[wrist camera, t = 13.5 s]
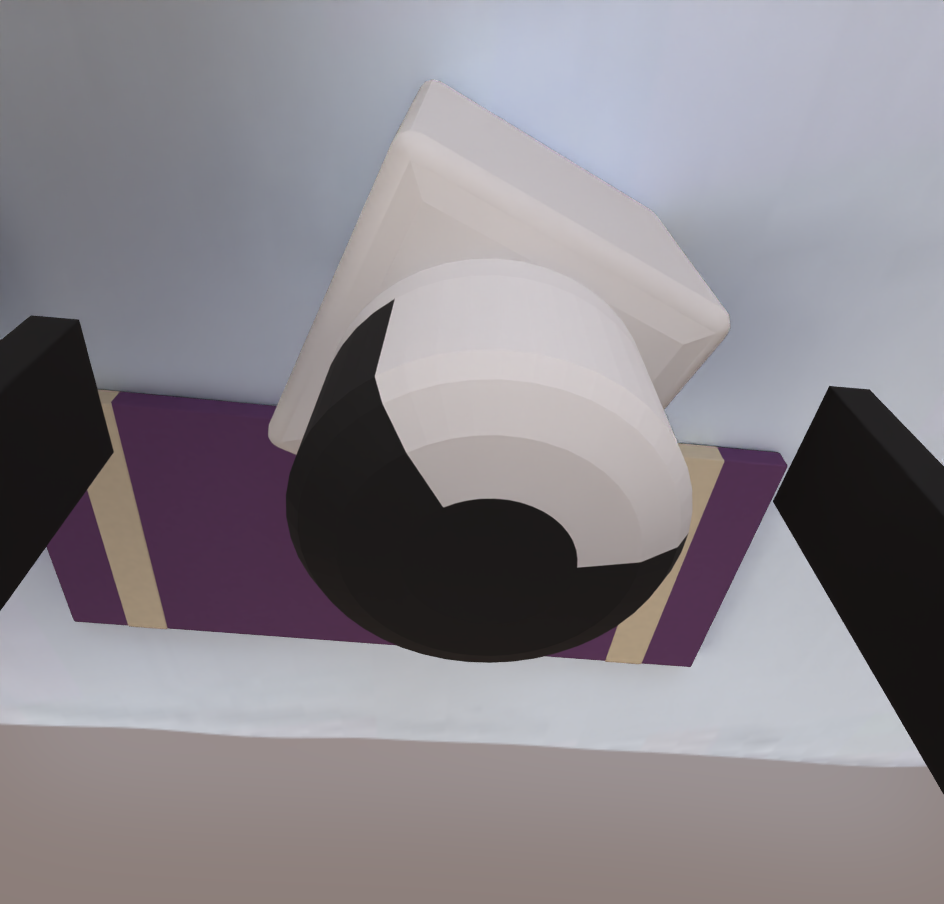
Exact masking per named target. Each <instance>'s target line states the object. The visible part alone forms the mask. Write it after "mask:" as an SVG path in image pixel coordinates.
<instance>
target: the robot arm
mask: <svg viewBox="0 0 944 904" xmlns="http://www.w3.org/2000/svg"><path fill="white" fill-rule="evenodd" d="M113 453H114V450H113V446H112V443H111V439H110V435H109V431H108V428H107V424H106V420H105V416H104V412H103V409H102V405H101V401H100V397H99V393H98V390H97V386H96V382H95V378H94V375H93V371H92V367H91V363H90V359H89V356H88V352H87V348H86V344H85V341H84V337H83V333H82V329H81V325H80V322H79V320H77V319H66V318H54V317H43V316H32V315H31V316H30V317H29V318H27V319H26V320H25V321H24V322H22V323H21V324H20V325H19V326H18V327H16V328H15V329H14V330H13V331H11V332H10V333H9V334H8V335H6V336H5V337H4V338H3V339H1V340H0V611H1V609H2V608H3V606H4V605H5V604H6V602H7V601H8V599H9V598H10V597H11V595H12V594H13V592H14V591H15V590H16V588H17V587H18V585H19V584H20V583H21V581H22V580H23V579H24V577H25V576H26V574H27V573H28V572H29V570H30V569H31V567H32V566H33V565H34V563H35V562H36V560H37V559H38V558H39V556H40V555H41V553H42V552H43V551H44V549H45V548H46V546H47V545H48V544H49V542H50V541H51V539H52V538H53V537H54V535H55V534H56V532H57V531H58V530H59V528H60V527H61V525H62V524H63V523H64V521H65V520H66V518H67V517H68V516H69V514H70V513H71V512H72V510H73V509H74V507H75V506H76V505H77V503H78V502H79V500H80V499H81V498H82V496H83V495H84V493H85V492H86V491H87V489H88V488H89V486H90V485H91V484H92V482H93V481H94V479H95V478H96V477H97V475H98V474H99V472H100V471H101V470H102V468H103V467H104V465H105V464H106V463H107V461H108V460H109V458H110V457H111V456H112V454H113ZM773 502H774V504H775V506H776V508H777V509H778V511H779V513H780V514H781V516H782V518H783V520H784V521H785V523H786V525H787V526H788V528H789V530H790V532H791V533H792V535H793V537H794V538H795V540H796V542H797V544H798V545H799V547H800V549H801V550H802V552H803V554H804V556H805V557H806V559H807V561H808V562H809V564H810V566H811V568H812V569H813V571H814V573H815V574H816V576H817V578H818V580H819V581H820V583H821V585H822V586H823V588H824V590H825V592H826V593H827V595H828V597H829V598H830V600H831V602H832V604H833V605H834V607H835V609H836V610H837V612H838V614H839V616H840V617H841V619H842V621H843V622H844V624H845V626H846V628H847V629H848V631H849V633H850V634H851V636H852V638H853V640H854V641H855V643H856V645H857V647H858V648H859V650H860V652H861V653H862V655H863V657H864V659H865V660H866V662H867V664H868V665H869V667H870V669H871V671H872V672H873V674H874V676H875V677H876V679H877V681H878V683H879V684H880V686H881V688H882V689H883V691H884V693H885V695H886V696H887V698H888V700H889V701H890V703H891V705H892V707H893V708H894V710H895V712H896V713H897V715H898V717H899V719H900V720H901V722H902V724H903V725H904V727H905V729H906V731H907V732H908V734H909V736H910V737H911V739H912V741H913V743H914V744H915V746H916V748H917V749H918V751H919V753H920V755H921V756H922V758H923V760H924V761H925V763H926V765H927V767H928V768H929V770H930V772H931V773H932V775H933V777H934V779H935V780H936V782H937V784H938V785H939V787H940V789H941V791H942V792H943V794H944V466H943V465H942V464H941V463H940V462H939V461H938V460H937V459H936V458H935V457H934V456H933V455H932V454H931V453H930V452H929V451H928V450H927V449H926V448H925V446H924V445H923V444H922V443H921V442H920V441H919V440H918V439H917V438H916V437H915V436H914V435H913V434H912V433H911V432H910V431H909V430H908V429H907V428H906V427H905V426H904V425H903V424H902V423H901V422H900V421H899V420H898V419H897V417H896V416H895V415H894V414H893V413H892V412H891V411H890V410H889V409H888V408H887V407H886V406H885V405H884V404H883V403H882V402H881V401H880V400H879V399H878V398H877V397H876V396H875V395H874V394H873V393H872V392H871V391H870V390H868V389H857V388H846V387H834V386H829V388H828V390H827V392H826V394H825V396H824V398H823V400H822V402H821V404H820V406H819V408H818V410H817V412H816V415H815V417H814V419H813V421H812V423H811V425H810V427H809V429H808V431H807V433H806V435H805V437H804V439H803V441H802V443H801V445H800V447H799V449H798V451H797V453H796V455H795V457H794V459H793V461H792V464H791V466H790V468H789V470H788V472H787V474H786V476H785V478H784V480H783V482H782V484H781V486H780V488H779V490H778V492H777V494H776V496H775V498H774V500H773Z"/></svg>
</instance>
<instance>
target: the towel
mask: <svg viewBox="0 0 944 904" xmlns="http://www.w3.org/2000/svg"><path fill="white" fill-rule="evenodd" d="M97 390H98V393H99V397H100V401H101V405H102V409H103V412H104V416H105V420H106V424H107V428H108V431H109V435H110V439H111V443H112V446H113V450H114V453H113V454H112V456H111V457H110V458H109V460H108V461H107V463H106V464H105V465H104V467H103V468H102V470H101V471H100V472H99V474H98V475H97V477H96V478H95V479H94V481H93V482H92V484H91V485H90V486H89V488H88V489H87V491H86V492H85V493H84V495H83V496H82V498H81V499H80V500H79V502H78V503H77V505H76V506H75V507H74V509H73V510H72V512H71V513H70V514H69V516H68V517H67V518H66V520H65V521H64V523H63V524H62V525H61V527H60V528H59V530H58V531H57V532H56V534H55V535H54V537H53V538H52V539H51V541H50V542H49V544H48V545H47V546H46V547H47V550H48V552H49V555H50V558H51V560H52V563H53V566H54V568H55V571H56V574H57V576H58V579H59V582H60V584H61V587H62V590H63V592H64V595H65V598H66V601H67V603H68V606H69V609H70V611H71V614H72V617H73V619H74V621H76V622H89V623H103V624H116V625H128V626H131V627H144V628H158V629H167V628H170V629H184V630H197V631H211V632H225V633H238V634H252V635H265V636H279V637H292V638H306V639H319V640H333V641H346V642H360V643H373V644H387V645H395V644H393V643H390V642H388V641H386V640H383V639H381V638H380V637H378V636H376V635H374V634H372V633H371V632H369V631H367V630H365V629H364V628H362V627H361V626H359V625H358V624H357V623H355V622H354V621H352V620H351V619H350V618H348V617H347V616H346V615H345V614H344V613H343V612H341V611H340V610H339V609H338V608H337V607H336V606H335V605H334V604H333V603H332V602H331V601H330V600H329V599H328V598H327V596H326V595H325V594H324V593H323V592H322V590H321V589H320V588H319V587H318V586H317V584H316V583H315V582H314V581H313V579H312V578H311V577H310V576H309V574H308V573H307V571H306V569H305V568H304V566H303V564H302V563H301V561H300V559H299V558H298V555H297V553H296V550H295V548H294V545H293V543H292V540H291V537H290V533H289V528H288V523H287V518H286V491H287V485H288V480H289V474H290V471H291V468H292V465H293V463H294V460H295V457H296V454H293V453H291V452H288V451H286V450H284V449H281V448H279V447H277V446H276V445H274V444H273V443H272V442H271V441H270V439H269V437H268V429H269V423H270V421H271V419H272V416H273V414H274V412H275V409H276V407H277V406H271V405H260V404H249V403H239V402H228V401H217V400H206V399H196V398H185V397H174V396H163V395H153V394H142V393H131V392H121V391H111V390H100V389H97ZM678 445H679V447H680V450H681V452H682V455H683V457H684V460H685V462H686V464H687V467H688V471H689V476H690V481H691V486H692V517H691V523H690V528H689V533H688V536H687V539H686V541H685V544H684V547H683V550H682V552H681V554H680V556H679V558H678V559H677V561H676V563H675V565H674V566H673V568H672V570H671V572H670V573H669V574H668V575H667V577H666V578H665V579H664V581H663V582H662V583H661V584H660V586H659V587H658V588H657V589H656V591H655V592H654V593H653V594H652V596H651V597H650V598H649V599H648V600H647V601H646V602H645V603H644V604H643V605H642V606H641V607H640V608H639V609H638V610H637V611H636V612H635V613H634V614H632V615H631V616H630V617H628V618H627V619H626V620H624V621H623V622H622V623H620V624H619V625H618V626H616V627H615V628H613V629H611V630H609V631H608V632H606V633H604V634H603V635H601V636H599V637H597V638H595V639H593V640H591V641H588V642H586V643H584V644H582V645H579V646H577V647H574V648H571V649H568V650H565V651H562V652H559V653H556V654H551V655H547V656H549V657H563V658H576V659H590V660H603V661H606V662H618V663H631V664H641V663H644V664H657V665H671V666H684V667H691V665H692V663H693V661H694V659H695V657H696V655H697V653H698V651H699V649H700V647H701V645H702V643H703V641H704V639H705V636H706V634H707V632H708V630H709V628H710V626H711V624H712V622H713V620H714V618H715V616H716V614H717V612H718V609H719V607H720V605H721V603H722V601H723V599H724V597H725V595H726V593H727V591H728V589H729V587H730V585H731V583H732V580H733V578H734V576H735V574H736V572H737V570H738V568H739V566H740V564H741V562H742V560H743V558H744V556H745V554H746V551H747V549H748V547H749V545H750V543H751V541H752V539H753V537H754V535H755V533H756V531H757V529H758V527H759V525H760V522H761V520H762V518H763V516H764V514H765V512H766V510H767V508H768V506H769V504H770V502H771V500H772V498H773V496H774V493H775V491H776V489H777V487H778V485H779V483H780V481H781V479H782V477H783V475H784V473H785V471H786V469H787V464H786V462H785V461H784V459H783V457H782V456H781V454H780V453H777V452H767V451H756V450H745V449H734V448H723V447H715V446H704V445H693V444H682V443H678Z"/></svg>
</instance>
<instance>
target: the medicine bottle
mask: <svg viewBox="0 0 944 904" xmlns="http://www.w3.org/2000/svg"><path fill="white" fill-rule="evenodd" d="M729 330H730V317H729V314H728V312H727V311H726V310H725V308H724V307H723V306H722V304H721V303H720V302H719V300H718V299H717V297H716V296H715V295H714V293H713V292H712V291H711V289H710V288H709V287H708V285H707V284H706V282H705V281H704V280H703V278H702V277H701V276H700V274H699V273H698V271H697V270H696V269H695V267H694V266H693V265H692V263H691V262H690V261H689V259H688V258H687V256H686V255H685V254H684V252H683V251H682V250H681V248H680V247H679V246H678V244H677V243H676V241H675V240H674V239H673V237H672V236H671V235H670V233H669V232H668V230H667V229H666V228H665V226H664V225H663V224H662V222H661V221H660V220H659V218H658V217H657V216H656V214H655V213H654V212H653V211H652V210H650V209H648V208H647V207H645V206H644V205H642V204H640V203H639V202H637V201H635V200H634V199H632V198H631V197H629V196H627V195H626V194H624V193H622V192H621V191H619V190H617V189H616V188H614V187H613V186H611V185H609V184H608V183H606V182H604V181H603V180H601V179H599V178H598V177H596V176H595V175H593V174H591V173H590V172H588V171H586V170H585V169H583V168H581V167H580V166H578V165H577V164H575V163H573V162H572V161H570V160H568V159H567V158H565V157H563V156H562V155H560V154H559V153H557V152H555V151H554V150H552V149H550V148H549V147H547V146H545V145H544V144H542V143H541V142H539V141H537V140H536V139H534V138H532V137H531V136H529V135H527V134H526V133H524V132H523V131H521V130H519V129H518V128H516V127H514V126H513V125H511V124H509V123H508V122H506V121H505V120H503V119H501V118H500V117H498V116H496V115H495V114H493V113H491V112H490V111H488V110H487V109H485V108H483V107H482V106H480V105H478V104H477V103H475V102H473V101H472V100H470V99H469V98H467V97H465V96H464V95H462V94H460V93H459V92H457V91H455V90H454V89H452V88H451V87H449V86H447V85H446V84H444V83H442V82H441V81H437V80H434V79H432V80H429V81H426V82H425V83H424V84H423V85H422V86H421V88H420V89H419V91H418V93H417V95H416V97H415V99H414V101H413V103H412V105H411V107H410V108H409V110H408V112H407V114H406V116H405V118H404V120H403V122H402V124H401V126H400V128H399V130H398V132H397V134H396V136H395V137H394V139H393V141H392V143H391V146H390V148H389V150H388V153H387V155H386V157H385V159H384V162H383V164H382V166H381V169H380V171H379V173H378V175H377V178H376V180H375V182H374V185H373V187H372V189H371V192H370V194H369V196H368V198H367V201H366V203H365V205H364V208H363V210H362V212H361V214H360V217H359V219H358V221H357V224H356V226H355V228H354V231H353V233H352V235H351V237H350V240H349V242H348V244H347V247H346V249H345V251H344V253H343V256H342V258H341V260H340V263H339V265H338V267H337V269H336V272H335V274H334V276H333V279H332V281H331V283H330V286H329V288H328V290H327V292H326V295H325V297H324V299H323V302H322V304H321V306H320V308H319V311H318V313H317V315H316V318H315V320H314V322H313V325H312V327H311V329H310V331H309V334H308V336H307V338H306V341H305V343H304V345H303V347H302V350H301V352H300V354H299V357H298V359H297V361H296V364H295V366H294V368H293V370H292V373H291V375H290V377H289V380H288V382H287V384H286V386H285V389H284V391H283V393H282V396H281V398H280V400H279V403H278V405H277V407H276V409H275V412H274V414H273V416H272V419H271V421H270V423H269V429H268V437H269V439H270V441H271V442H272V443H273V444H274V445H276V446H277V447H279V448H281V449H284V450H286V451H288V452H291V453H293V454H296V457H295V460H294V463H293V465H292V468H291V471H290V474H289V480H288V485H287V491H286V518H287V523H288V528H289V533H290V537H291V540H292V543H293V545H294V548H295V550H296V553H297V555H298V558H299V559H300V561H301V563H302V564H303V566H304V568H305V569H306V571H307V573H308V574H309V576H310V577H311V578H312V579H313V581H314V582H315V583H316V584H317V586H318V587H319V588H320V589H321V590H322V592H323V593H324V594H325V595H326V596H327V598H328V599H329V600H330V601H331V602H332V603H333V604H334V605H335V606H336V607H337V608H338V609H339V610H340V611H341V612H343V613H344V614H345V615H346V616H347V617H348V618H350V619H351V620H352V621H354V622H355V623H357V624H358V625H359V626H361V627H362V628H364V629H365V630H367V631H369V632H371V633H372V634H374V635H376V636H378V637H380V638H381V639H383V640H386V641H388V642H390V643H393V644H395V645H397V646H400V647H402V648H405V649H408V650H411V651H415V652H418V653H421V654H424V655H429V656H434V657H438V658H443V659H449V660H457V661H465V662H488V663H492V662H511V661H519V660H526V659H534V658H538V657H543V656H547V655H551V654H556V653H559V652H562V651H565V650H568V649H571V648H574V647H577V646H579V645H582V644H584V643H586V642H588V641H591V640H593V639H595V638H597V637H599V636H601V635H603V634H604V633H606V632H608V631H609V630H611V629H613V628H615V627H616V626H618V625H619V624H620V623H622V622H623V621H624V620H626V619H627V618H628V617H630V616H631V615H632V614H634V613H635V612H636V611H637V610H638V609H639V608H640V607H641V606H642V605H643V604H644V603H645V602H646V601H647V600H648V599H649V598H650V597H651V596H652V594H653V593H654V592H655V591H656V589H657V588H658V587H659V586H660V584H661V583H662V582H663V581H664V579H665V578H666V577H667V575H668V574H669V573H670V572H671V570H672V568H673V566H674V565H675V563H676V561H677V559H678V558H679V556H680V554H681V552H682V550H683V547H684V544H685V541H686V539H687V536H688V533H689V528H690V523H691V517H692V486H691V481H690V476H689V471H688V467H687V464H686V462H685V460H684V457H683V455H682V452H681V450H680V447H679V445H678V443H677V440H676V438H675V436H674V433H673V431H672V428H671V426H670V424H669V421H668V419H667V417H666V414H665V412H664V409H665V408H666V407H667V406H668V404H669V403H670V402H671V401H672V400H673V399H674V397H675V396H676V395H677V394H678V393H679V391H680V390H681V389H682V388H683V387H684V386H685V384H686V383H687V382H688V381H689V380H690V378H691V377H692V376H693V375H694V374H695V373H696V371H697V370H698V369H699V368H700V367H701V365H702V364H703V363H704V362H705V361H706V360H707V358H708V357H709V356H710V355H711V354H712V352H713V351H714V350H715V349H716V348H717V347H718V345H719V344H720V343H721V342H722V341H723V339H724V338H725V337H726V336H727V334H728V332H729Z"/></svg>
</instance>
